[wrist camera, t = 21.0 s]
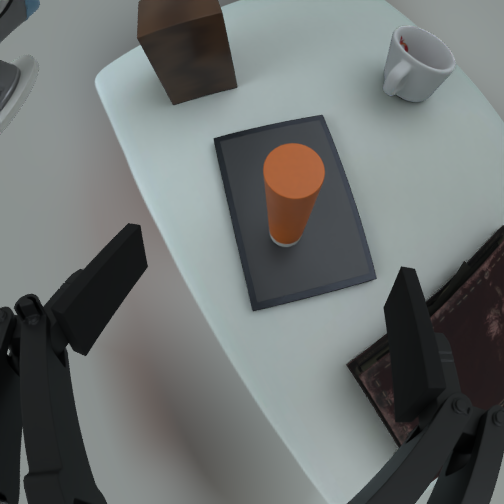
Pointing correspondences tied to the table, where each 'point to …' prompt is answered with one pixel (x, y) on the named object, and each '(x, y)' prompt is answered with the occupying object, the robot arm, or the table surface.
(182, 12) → the tall brown-topped block
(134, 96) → the table surface
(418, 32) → the cup
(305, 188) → the orange cylinder
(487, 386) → the diary
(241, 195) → the tablet
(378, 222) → the table surface
